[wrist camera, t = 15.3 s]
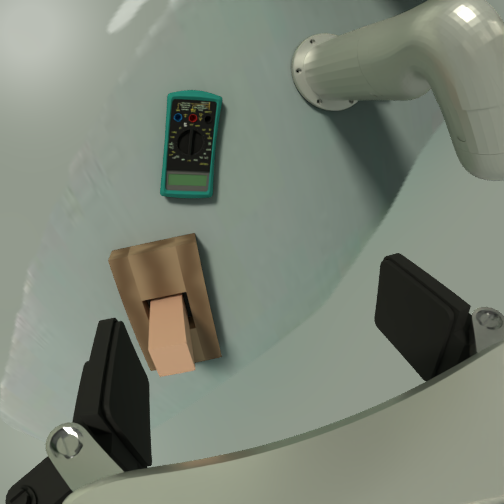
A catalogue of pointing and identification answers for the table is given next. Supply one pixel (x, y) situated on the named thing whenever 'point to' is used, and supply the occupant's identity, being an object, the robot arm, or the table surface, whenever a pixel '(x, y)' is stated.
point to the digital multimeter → (190, 144)
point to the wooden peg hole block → (165, 289)
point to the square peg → (170, 335)
